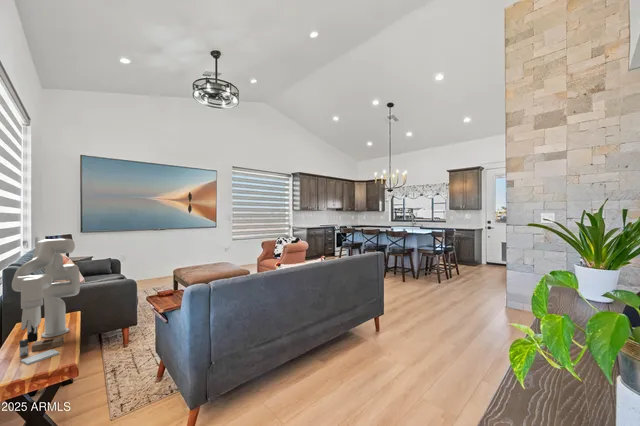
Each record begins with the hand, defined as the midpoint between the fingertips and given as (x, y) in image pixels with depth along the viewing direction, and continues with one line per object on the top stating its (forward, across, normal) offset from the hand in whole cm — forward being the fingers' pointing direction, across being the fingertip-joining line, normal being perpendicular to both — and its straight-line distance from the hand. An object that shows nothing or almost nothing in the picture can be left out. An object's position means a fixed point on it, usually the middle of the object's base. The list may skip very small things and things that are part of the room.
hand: (32, 341), depth 138 cm
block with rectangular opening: (+13, -27, 0) cm, 30 cm away
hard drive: (+13, -12, 0) cm, 18 cm away
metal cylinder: (+13, -20, -8) cm, 25 cm away
